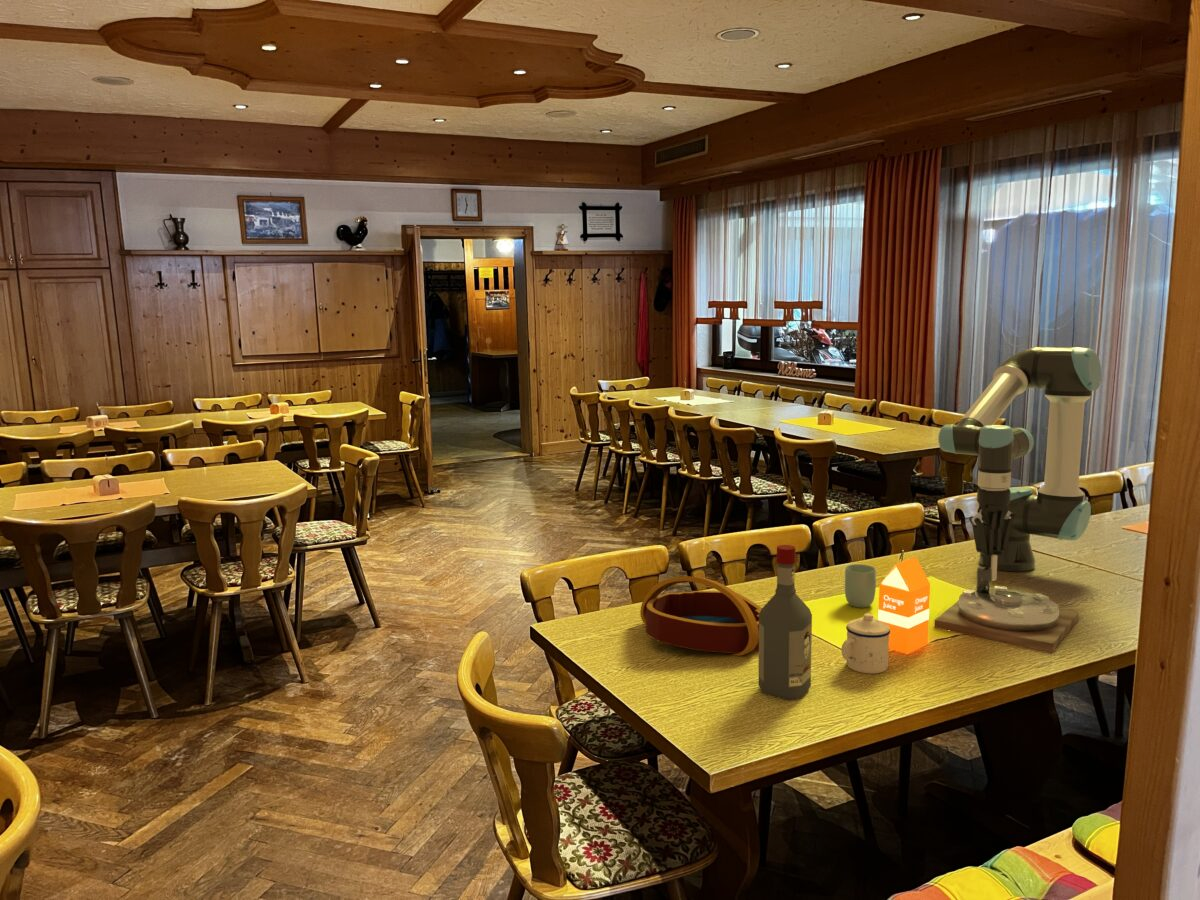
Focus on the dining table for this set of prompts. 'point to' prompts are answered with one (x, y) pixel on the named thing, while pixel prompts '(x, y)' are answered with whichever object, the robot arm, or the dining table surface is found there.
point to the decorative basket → (702, 617)
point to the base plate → (1031, 639)
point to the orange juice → (905, 606)
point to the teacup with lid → (867, 645)
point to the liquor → (785, 636)
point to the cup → (860, 585)
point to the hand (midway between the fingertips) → (990, 579)
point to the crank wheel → (1007, 607)
